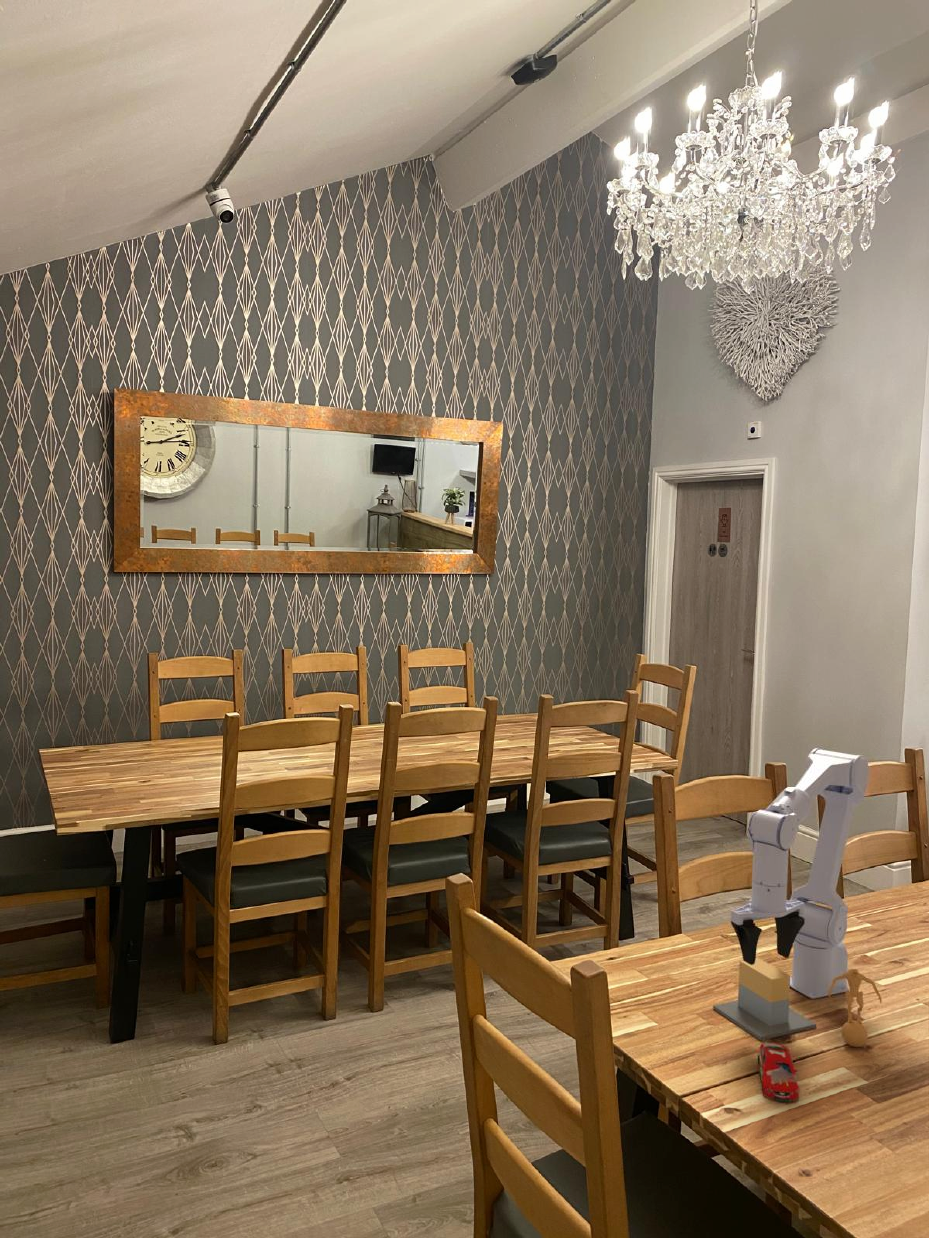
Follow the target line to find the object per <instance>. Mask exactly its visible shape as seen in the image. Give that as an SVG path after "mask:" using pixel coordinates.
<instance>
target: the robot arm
mask: <svg viewBox="0 0 929 1238" xmlns="http://www.w3.org/2000/svg"><path fill="white" fill-rule="evenodd" d="M806 758H807V759H806V763H805V772H804V773H803V775H802V776H801V778H800V779H799V780H798V781H797V783H796V785H794V787H793V786H790V787H786V788H784V789H783V790H782V791H781V792H780V793H779V794H778V795H777V797H776V798H775V799H774V800H773V801H772V802H771V803H770V804H769V805H768V806H767V808H765V809H759V810H757V811H754V812H753V813H752V814H751V816H750V818H749V822H748V826H747V828H746V831H747V832H746V834H747V838H748V840H749V850H750V852H751V853H752V869H751V870H752V874H751V898H750V899H748V903H747V904H745V905H743V906H740V907H738V908H736V909H732V910H731V911H730V924H731V926H732V927H733V929H734V933H736V934H735V935H736V937H737V940H738V941H739V946H740V950H741V955H742V960H743V961H745V962H747V963H748V964H750V965H753V964H754V963H755V960H756V958H757V947H758V943H759V940H760V939H759V938H760V936H761V934H762V931H763V929H762V928H760V927H758V926H756V923H755V922H756V921H760V920H767V919H771V918H774V922H775V928H776V950H777V951H776V952H777V955H779V956H782V957H783V958H785V959H788V958H789V957H790V955H791V952H792V951H793V953H792V972H791V976H790V987H791V988H792V989H794V990H796V991H797V992H799V993H801V994H803V995H805V996H806V997H808V998H810V999H813V1000H814V999H818V998H823V997H829V995H828V991H829V989H830V986H831V984H832V981H833V979H834V978H835V977H836V976H839V975H842V974H844V973H847V972H848V962H849V961H848V960H849V957H848V956H849V955H848V950H847V948H846V945H845V944H844V943H843V941H844V940H845V936H846V934H847V929H848V912H849V910H848V909H849V907H848V905H847V904H846V902H845V900H843V898H842V897H841V896H840V895H839V893H838V892H837V886H838V881H839V877H840V872H841V867H842V863H843V859H844V854H845V850H846V845H847V841H848V836H849V831H850V827H851V824H852V823H851V822H852V818H853V815H854V814H853V813H854V809H855V806H856V804H859V803H862V802H863V801H864V798H865V795H866V792H867V787H868V783H869V777H870V769H869V763H868V761H867V759H866V757H865V756H864V755H862V754H857V755H856V754H851V753H850V754H849V753H845V752H839V751H832V750H828V749H827V750H825V749H821V748H819V747H816V748H815V747H814V748H813V749H812V750H811V751H810V752H809V754H808V755H807V757H806ZM819 795H820V796H821V797H823V799H824V802H825V805H824V806H825V807H824V811H823V816H822V820H821V823H820V828H819V832H818V838H817V842H816V845H815V850H814V855H813V858H812V863H811V868H810V873H809V877H808V881H807V883H806V884H804V885H802V886H800V887H798V888H796V889H793V891H792V892H791V893H792V894H791V896H790V899H789V900H788V899H787V896H788V895H787V893H788V890H787V889H788V873H789V871H788V870H789V869H788V867H789V850H790V848H791V847H793V845H794V842H795V841H796V837H797V835H798V834H797V833H798V832H799V830H800V828H799V827H800V826H799V825H800V824H801V823H802V822H804V820H805V819H806V818H807V817H808V815H810V814H811V812H812V810H813V802H812V801H813V800H815V798H816V797H818V796H819ZM811 902H814V903H811ZM815 903H817V904H815ZM820 904H821V905H820ZM823 905H825V906H823ZM827 906H828V907H827ZM754 921H755V922H754ZM792 948H793V949H792ZM847 984H848V981H847V979H846V978H844V979H840V980H836V982H835V984H834V987H833V989H832V990H831V993H832V994H831V995H836V994H840V993H846V990H849V992H850V987H849V986H848V985H847Z"/></svg>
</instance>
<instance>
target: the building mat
mask: <svg viewBox="0 0 929 1238" xmlns="http://www.w3.org/2000/svg"><path fill="white" fill-rule="evenodd" d="M712 1009H713V1010H714V1011H715V1012H717V1013H719V1014H720V1015H722V1016H723V1017H724V1018H726V1019H727V1020H729V1021H731V1022H732V1023H734V1024H735V1025H737V1026H738V1027H739V1028H741V1029H743V1030H744V1031H745V1032H747V1033H749V1034H750V1035H752V1036H753V1037H755V1038H756V1039H758V1040H760V1041H765V1040H770V1039H774V1038H777V1037H782V1036H785V1035H790V1034H794V1033H799V1032H803V1031H807V1030H811V1029H816V1028H817V1023H816V1022H813V1021H812V1020H811V1019H808V1018H807V1017H805V1016H804V1015H803V1014H800V1013H799V1012H798V1011H795V1010H794V1009H792V1008H790V1007H789V1020H788V1022H786V1023H782V1024H778V1025H774V1026H769V1025H767V1024H766V1023H764V1022H763V1021H761V1020H759V1019H758V1018H756V1017H755V1016H753V1015H752V1014H750V1013H748V1012H747V1011H745V1010H744V1009H742V1008H741V1007H739V1006H738V999H737V1000H733V1001H728V1002H723V1003H719V1004H714V1005H712Z"/></svg>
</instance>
